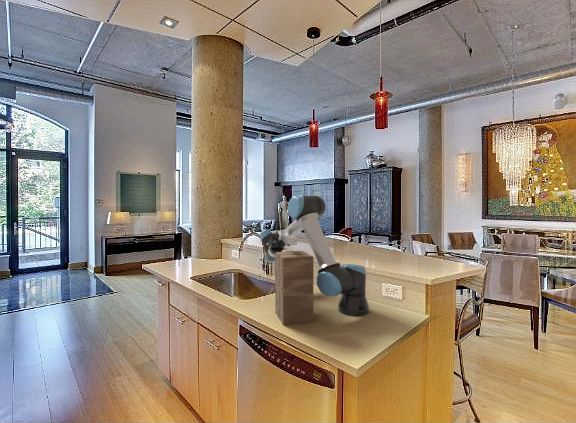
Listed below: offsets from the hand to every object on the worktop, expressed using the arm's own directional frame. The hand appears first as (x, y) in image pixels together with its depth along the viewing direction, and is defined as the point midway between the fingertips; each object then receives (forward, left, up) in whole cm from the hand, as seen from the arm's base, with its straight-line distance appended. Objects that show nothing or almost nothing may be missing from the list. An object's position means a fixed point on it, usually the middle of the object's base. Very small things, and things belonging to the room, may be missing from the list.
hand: (284, 232), depth 163 cm
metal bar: (-2, +3, -4) cm, 6 cm away
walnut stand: (-9, +11, -39) cm, 42 cm away
